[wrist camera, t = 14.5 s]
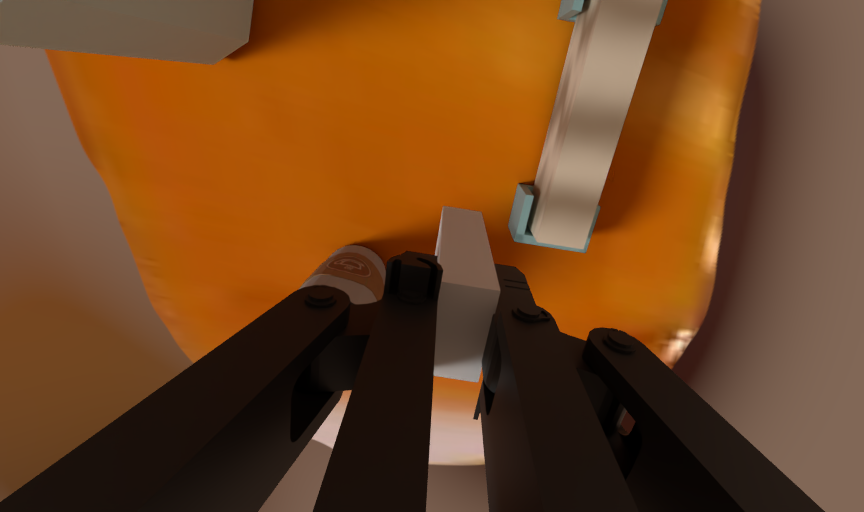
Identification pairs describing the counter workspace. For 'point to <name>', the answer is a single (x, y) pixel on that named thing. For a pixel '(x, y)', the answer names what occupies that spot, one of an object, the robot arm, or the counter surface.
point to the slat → (589, 116)
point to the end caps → (524, 196)
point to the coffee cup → (352, 274)
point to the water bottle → (130, 27)
